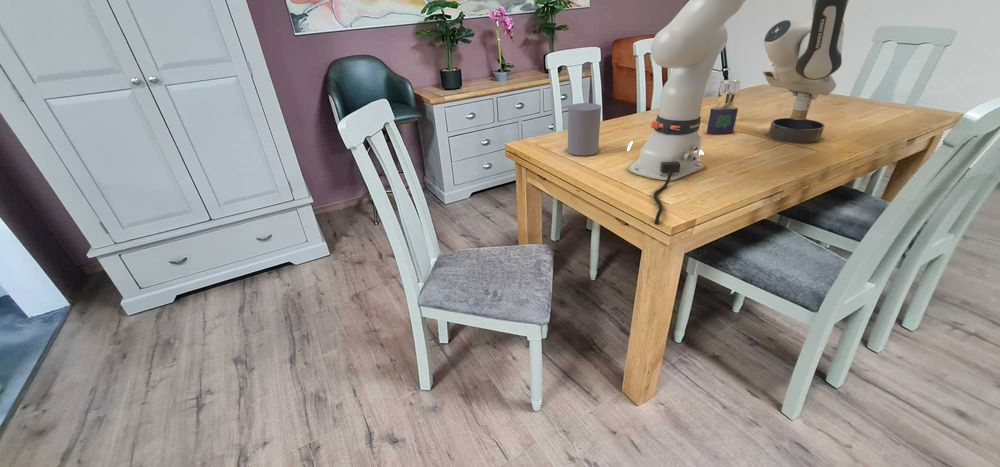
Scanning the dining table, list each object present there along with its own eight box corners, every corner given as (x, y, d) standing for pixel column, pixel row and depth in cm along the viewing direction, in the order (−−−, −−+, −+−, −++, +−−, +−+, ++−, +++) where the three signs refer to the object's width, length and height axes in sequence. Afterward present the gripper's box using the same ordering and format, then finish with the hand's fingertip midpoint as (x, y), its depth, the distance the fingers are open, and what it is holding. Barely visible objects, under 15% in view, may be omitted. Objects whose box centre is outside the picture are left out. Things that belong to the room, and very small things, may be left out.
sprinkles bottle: (797, 116, 141) (810, 75, 135) (809, 119, 138) (822, 77, 131) (786, 118, 141) (798, 76, 134) (797, 121, 137) (810, 78, 130)
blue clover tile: (731, 131, 151) (737, 101, 145) (734, 133, 148) (741, 103, 143) (705, 132, 151) (710, 102, 146) (708, 135, 149) (714, 104, 144)
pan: (814, 146, 133) (818, 132, 130) (762, 138, 142) (765, 125, 140) (825, 134, 141) (829, 121, 139) (775, 128, 151) (779, 115, 149)
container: (573, 145, 147) (574, 102, 140) (601, 148, 143) (604, 104, 135) (562, 154, 139) (563, 109, 132) (592, 157, 135) (595, 111, 127)
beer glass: (708, 120, 165) (716, 81, 157) (723, 118, 166) (731, 79, 159) (721, 124, 159) (730, 83, 151) (736, 122, 160) (745, 81, 153)
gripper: (835, 62, 119) (846, 93, 127) (771, 55, 136) (784, 83, 143) (819, 80, 120) (830, 110, 128) (757, 71, 137) (771, 98, 144)
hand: (805, 96), depth 136 cm, fingers closed on sprinkles bottle, 4 cm apart
